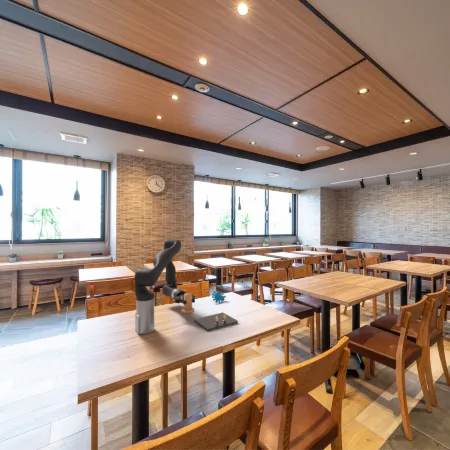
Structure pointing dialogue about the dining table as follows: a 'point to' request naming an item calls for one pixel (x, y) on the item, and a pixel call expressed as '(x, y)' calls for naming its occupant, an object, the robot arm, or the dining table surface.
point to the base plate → (215, 321)
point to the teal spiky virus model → (218, 297)
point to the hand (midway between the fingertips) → (189, 301)
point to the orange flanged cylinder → (188, 303)
